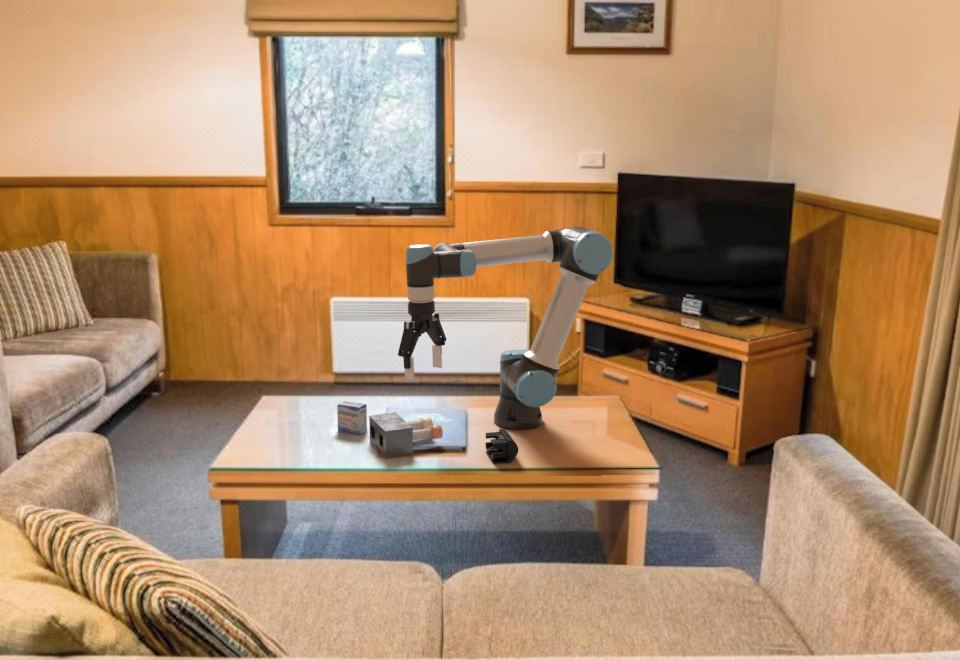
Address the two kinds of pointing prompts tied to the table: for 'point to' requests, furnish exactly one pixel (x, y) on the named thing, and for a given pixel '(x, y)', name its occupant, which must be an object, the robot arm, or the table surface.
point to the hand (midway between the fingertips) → (423, 373)
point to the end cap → (501, 447)
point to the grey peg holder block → (391, 435)
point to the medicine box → (352, 417)
